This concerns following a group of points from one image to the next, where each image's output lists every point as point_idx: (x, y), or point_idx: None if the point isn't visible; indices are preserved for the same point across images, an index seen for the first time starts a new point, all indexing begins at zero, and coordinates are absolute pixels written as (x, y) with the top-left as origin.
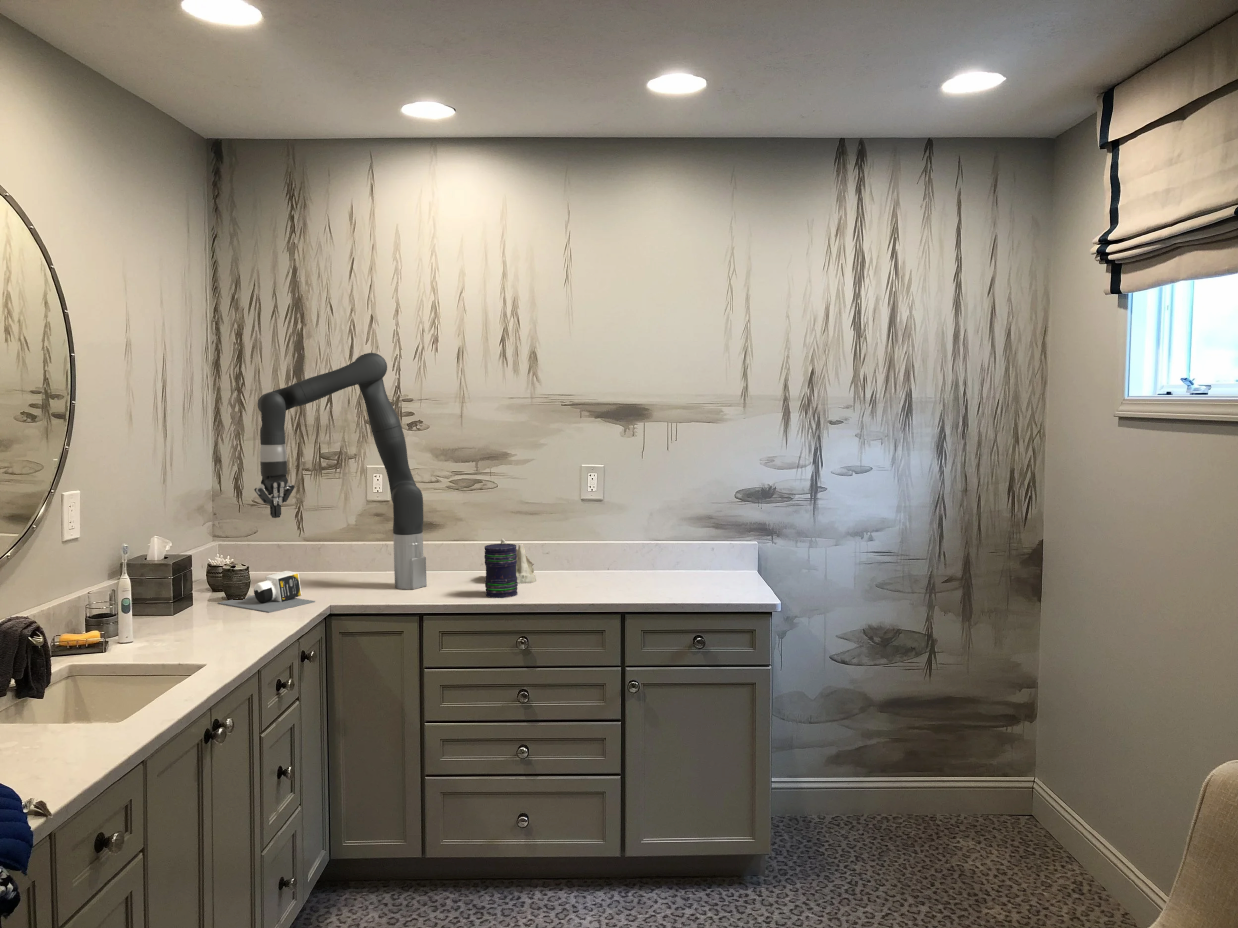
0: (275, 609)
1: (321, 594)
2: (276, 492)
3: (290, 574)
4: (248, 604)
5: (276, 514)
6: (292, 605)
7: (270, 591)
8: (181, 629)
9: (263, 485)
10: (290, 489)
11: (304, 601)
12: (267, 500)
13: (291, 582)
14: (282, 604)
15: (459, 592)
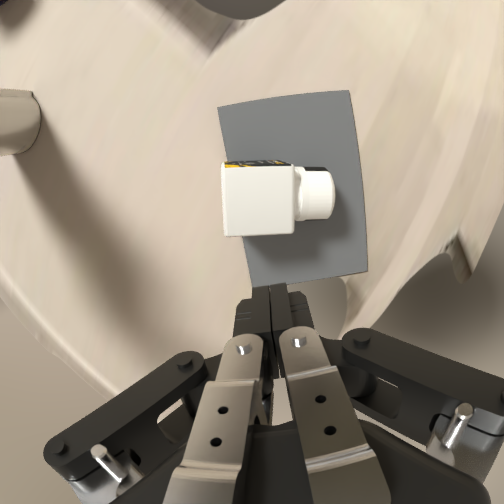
0: (328, 97)
1: (164, 180)
2: (307, 411)
3: (244, 175)
4: (340, 199)
5: (284, 290)
6: (280, 103)
7: (308, 167)
8: (491, 118)
9: (476, 474)
10: (93, 436)
11: (237, 122)
12: (396, 344)
13: (248, 163)
14: (290, 133)
15: (14, 26)
